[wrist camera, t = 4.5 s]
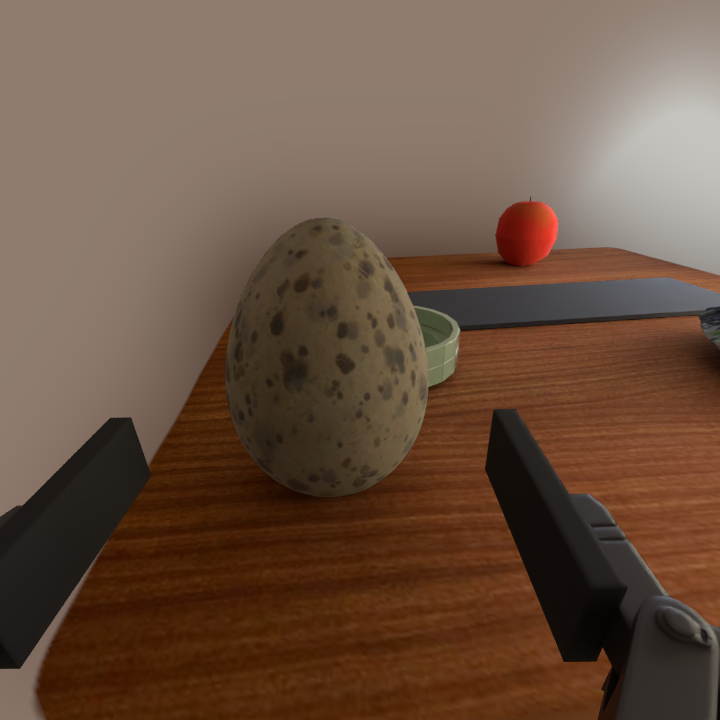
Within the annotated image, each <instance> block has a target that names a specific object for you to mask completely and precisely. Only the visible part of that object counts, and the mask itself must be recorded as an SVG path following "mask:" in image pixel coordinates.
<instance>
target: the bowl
mask: <svg viewBox="0 0 720 720" xmlns="http://www.w3.org/2000/svg"><path fill="white" fill-rule="evenodd" d="M413 307H414V309H415V312H416V315H417V318H418V321H419V324H420V328H421V331H422V335H423V339H424V343H425V349H426V354H427V362H428V387H430V386H433V385H435V384H438V383H441V382H443V381H444V380H445V379H447V378H448V377H449V376H451V375H452V374H453V373H454V370H455V368H456V365H457V359H458V348H459V338H460V328H459V326H458V324H457V322H456V321H455V320H454V319H452V318H451V317H450V316H448V315H446V314H444V313H441V312H439V311H436V310H433V309H429V308H424V307H419V306H413Z"/></svg>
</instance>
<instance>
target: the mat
mask: <svg viewBox="0 0 720 720" xmlns="http://www.w3.org/2000/svg"><path fill="white" fill-rule="evenodd" d="M407 293H408V295H409V297H410V300H411V302H412V304H413V306H419V307H424V308H429V309H433V310H436V311H439V312H441V313H444V314H446V315H448V316H450V317H451V318H452V319H454V320H455V321H456V322H457V324H458V326H459V328H460V330H475V329H490V328H506V327H521V326H536V325H552V324H567V323H582V322H598V321H613V320H628V319H644V318H659V317H674V316H689V315H700V314H702V313H704V312H705V311H706V308H709V307H713V306H714V307H717V306H718V305H720V293H717V292H713V291H710V290H707V289H704V288H701V287H698V286H694V285H691V284H688V283H685V282H682V281H678V280H675V279H672V278H669V277H665V278H647V279H630V280H612V281H595V282H577V283H559V284H542V285H524V286H507V287H489V288H472V289H454V290H436V291H419V292H407Z"/></svg>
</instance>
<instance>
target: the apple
mask: <svg viewBox="0 0 720 720" xmlns="http://www.w3.org/2000/svg"><path fill="white" fill-rule="evenodd" d="M557 229H558V220H557V218H556V216H555V214H554V212H553V210H552V209H551V208H550V207H549V206H547V205H546V204H545V203H542V202H533V201H531V197H530V201H522V202H518V203H515V204H513V205H512V206H510V207H509V208H507V209H506V211H505V212H504V213H503V214H502V216H501V217H500V218H499V223H498V227H497V231H496V235H495V236H496V241H497V247H498V253H499V254H500V255H501V256H502V258H503V259H504V260H505V261H506V262H507V263H509V264H511V265H515V266H529V265H532V264H534V263H536V262H537V261H539V260H541V259H542V258H544V257H545V256H547V255H548V254H549V252H550V250H551V248H552V246H553V244H554V242H555V240H556V238H557Z"/></svg>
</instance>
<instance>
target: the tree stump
mask: <svg viewBox="0 0 720 720" xmlns="http://www.w3.org/2000/svg"><path fill="white" fill-rule="evenodd" d="M699 317H700V318H699V319H700V320H701V327H702V329H703V333H704V334H705V336H706V337H707V338H708V339H709V340H710V341H711V342H712V343H713V344H714V345H715V346H716V347H717V348H718V349H719V350H720V305H718V306H717V307H714V306H713V307H709V308H706V311H705V312H704V313H702V314H700V315H699Z"/></svg>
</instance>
